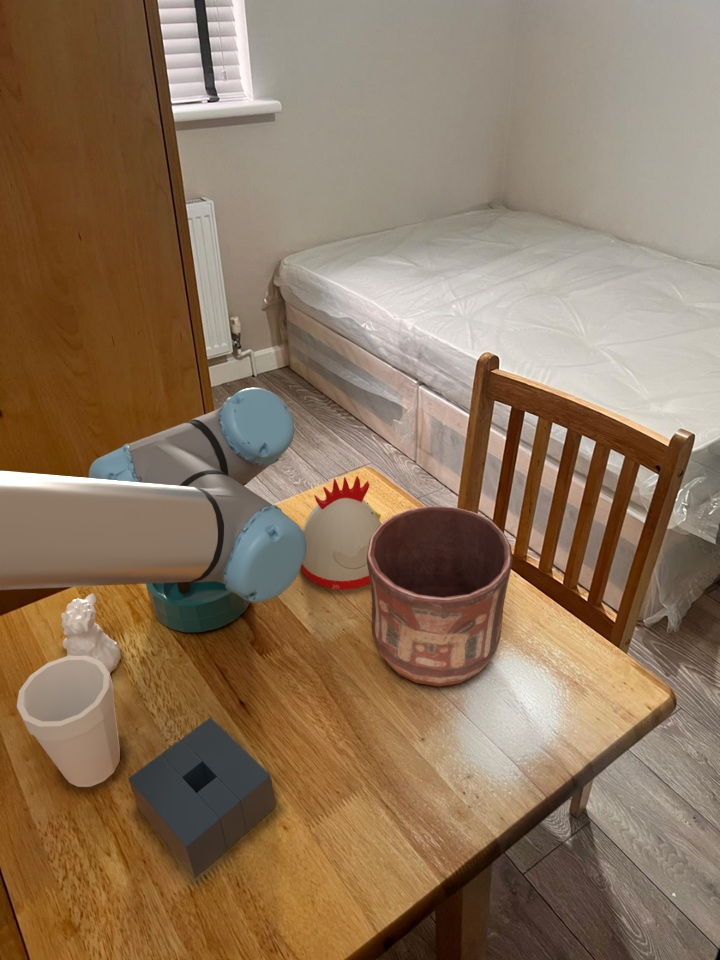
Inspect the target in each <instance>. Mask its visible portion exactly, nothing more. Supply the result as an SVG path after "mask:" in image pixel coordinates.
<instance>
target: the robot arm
mask: <svg viewBox="0 0 720 960" xmlns="http://www.w3.org/2000/svg"><path fill="white" fill-rule="evenodd" d="M293 417H294V416H293V415H292V412H291V410H290V408H289V407H288V405H287V404H286V403H285V401H284V400H283V399H282V398H281V397H279V396H278V395H277V394H275V393H274V392H272V391H270V390H268V389H265V388H261V387H246V388H244V389H241V390H239V391H237V392H236V393H234V394H233V395H232V396H229V397H228V398H227V399H226V400H225V401H224V402H222V404H221V407H218V408H217V409H215V410H213V411H210V412H208V413H205V414H202V415H200V416H197V417H195V418H192V419H189V421H186V422H183V423H181V424H178V425H175V426H172V427H170V428H166V429H165V430H162V431H159V432H157V433H154V434H151V435H148V436H146V437H143V438H140V439H138V440H135V441H132V442H130V443H125V444H123V445H122V447H119V448H117V449H115V450H113V451H110V452H108V453H107V454H105V455H102V456H100V457H98V458H96V459H95V460H94V461H93V462H92V463H91V465H90V468H89V469H88V477H78V476H67V475H58V474H57V475H55V474H46V473H45V474H44V473H32V472H22V471H9V470H0V591H10V590H13V591H14V590H33V589H57V588H58V589H59V588H77V587H100V586H101V587H103V586H123V585H124V586H126V585H127V586H128V585H146V584H150V583H173V582H211V581H216V582H220V583H223V584H224V585H225V587H226V589H227V590H228V591H229V592H231V593H236V594H237V595H239V596H240V597H241V598H243V599H245V600H247V601H250V602H251V603H264V602H268V601H271V600H272V599H274V598H277V597H278V596H280V595H282V594H283V593H284V592H285V591H286V590H287V589H288V588H290V586H291V585H292V584H293V583H294V582H295V580H296V579H297V578H298V576H299V574H300V572H301V571H302V569H301V565H302V564H303V561H304V559H305V556H306V550H307V544H306V538H305V535H304V533H303V529H302V527H301V526H300V525H299V524H298V523H297V522H295V521H294V520H293V519H292V518H291V517H289V515H287V514H286V513H285V512H283V510H282V508H281V507H278V506H277V504H272V503H271V502H270V501H268V500H266V499H264V498H263V497H262V496H260V495H258V494H257V493H256V492H254V491H252V490H251V489H249V488H248V487H246V485H247V484H249V483H250V482H251V481H252V480H253V479H254V478H256V477H257V476H259V475H260V474H261V473H262V472H263V471H264V470H266V469H267V468H269V467H270V466H271V465H273V464H276V463H277V462H278V461H279V460H280V458H281V457H282V456H283V455H284V454H285V453H286V451H287V450H288V449H289V448H290V446H291V444H292V442H293V439H294V436H295V421H294V418H293Z"/></svg>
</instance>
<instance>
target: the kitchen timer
mask: <svg viewBox="0 0 720 960" xmlns="http://www.w3.org/2000/svg"><path fill="white" fill-rule="evenodd" d="M369 488H370V482H369V481H368V480H366V482H365V483H364V485H362V486H361V480H360V478H359V475H356V477H355V479H354V483H353V485H352V487H350V486H349V483H348V481H347V478H346V477H345V476H344V477H343V482H342V487H341V489H340V486H339V484H338V482H337V480H336V478H333V483H332V490H331V491H330V490H329V489H328V488H327V487H326V486H323V489H322V490H323V491H324V493H325V497H324V498H323V499H320V498H319V497H318V496H317V495H316V494H314V499H315V502H316V505H315V506H314V508H313V509H312V510H311V512H310V513H309V515H308V516H307V518H306V520H305V522H304V525H303V529H302V531H303V533H304V535H305V538H306V544H307V550H306V556H305V559H304V561H303V564H302V565H301V572H302V573H303V575H305V577H306V578H307V579H308V580H309V581H311V582H313V583H314V584H316V585H318V586H320V587H324V588H327V589H333V590H342V591H343V590H352V589H358V588H362V587H364V586H367V585H369V584H371V583H370V576H369V571H368V566H367V552H368V546H369V539H370V538H371V536H372V535H373V534H374V532H375V531H376V529H377V528H378V527H379V525H381V524H382V523H381V514H380V513H379V512H377V511H376V510H374V508H372V507H371V505H370V504H369V503H368V502H366V500H364V499H365V497H366V496H367V495H366V494H367V493H368V491H369Z"/></svg>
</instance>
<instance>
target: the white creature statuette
mask: <svg viewBox="0 0 720 960" xmlns="http://www.w3.org/2000/svg"><path fill="white" fill-rule="evenodd" d="M96 603H97V597H96V595H95V593H90V594H89V595H87V596H86V597H84V599H82V598H80V597H77V598H75V599H72V600H71V602H69V603H68V604H67V606H66V607H65V612H62V613H61V614H60V617H61V628H63V631H62V634H63V635H64V636H67V637H65V638H64V639H63V641H62V645H61V646H62V648H63V649H65V650H66V656H89V657H92V658H94V659H97V660H99V661H101V662H102V663H103V664H104V666H105V667H106V669H107V670H108V672H109V673H110V674H111V673H112V672H113V671H114V670H115V669H117V667H118V664H119V662H120V660H121V657H122V656H121V655H122V654H121V651H120V645H119V644H118V643H117V641H116V640H115V639H112V638H111V637H110V636H109V635H108V634H106V632H104V629H102V628H101V626H100V624H98V623H96V620H97V611H96V609H95V605H96Z"/></svg>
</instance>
